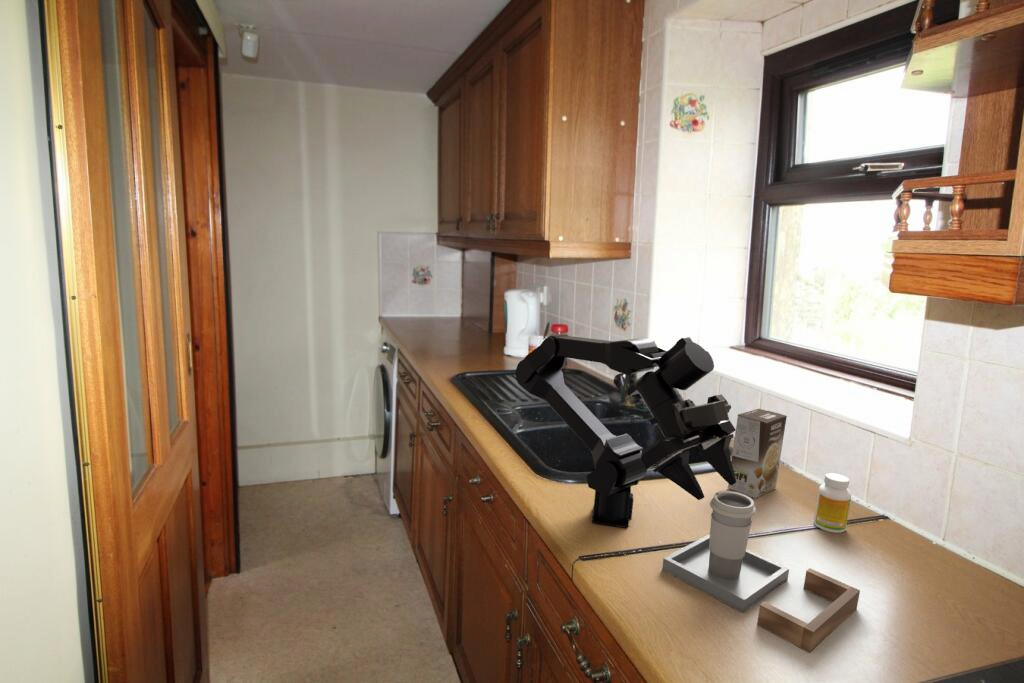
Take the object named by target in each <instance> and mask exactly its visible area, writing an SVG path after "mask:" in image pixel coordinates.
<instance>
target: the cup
mask: <svg viewBox="0 0 1024 683" xmlns="http://www.w3.org/2000/svg"><path fill="white" fill-rule="evenodd" d="M709 506H710V508H711V509H712V512H711V515H710V527H709V528H710V529H709V531H710V532H709V534H710V542H709V549H710V556H709V570H710V571H711V573H713V574H714V575H716V576H718V577H720V578H724V579H736V578H738V577H739V576H740V571H741V566H742V561H743V557H744V556H745V552H746V549H747V547H748V542H749V541H748V540H749V537H750V531H751V527H752V523H753V522H752V517H755V515H756V514H757V508H756V506H755V502H754V500H753V499H752V497H750V496H747V495H745V494H742V493H739V492H737V491H733V490H722V491H717V492H715V493H714V495H713V497H712V499H710V501H709Z"/></svg>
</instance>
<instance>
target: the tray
mask: <svg viewBox="0 0 1024 683" xmlns="http://www.w3.org/2000/svg"><path fill="white" fill-rule="evenodd" d="M709 542H710V533H709V534H707V535H705V536H702V537H701V538H699V539H698V540H695V541H693V542H691V543H690V544H688V545H686V546H684V547H682V548H680V549H677V551H674V552H672V553H670V554H668V555H666V556H665V557H663V560H662V571H664V572H665V573H668V574H669V575H671V576H673V577H674V578H676V579H678V580H680V581H683V582H685V583H686V584H688V585H690V586H692V587H694V588H695V589H697V590H699V591H701V592H703V593H705V594H707V595H708V596H711V597H712V598H714V599H716V600H718V601H720V602H722V603H724V604H726V605H728V606H729V607H731V608H732V609H735V610H737V611H738V612H741V613H744V612H746V611H748V610H749V609H750V608H752V607H753V606H754V605H755V604H757V603H758V602H760V601H761V600H763V599H764V598H765V597H767V596H768V595H769V594H770V593H772V592H774V591H775V590H776V589H778V588H779V587H780V586H782V585H783V584H785V583H786V582H787V581H788V579H789V573H790V572H789V571H790V568H789V567H787V566H785V565H783V564H780V563H778V562H776V561H774V560H771V559H769V558H767V557H765V556H763V555H760V554H758V553H756V552H754V551H752V550H749V549H747V548H746V552H745V556H744V557H743V561H742V566H741V571H740V576H739V577H738V578H736V579H724V578H720V577H718V576H716V575H714V574H713V573H711V571H710V570H709V556H710V549H709Z"/></svg>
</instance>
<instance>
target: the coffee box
mask: <svg viewBox="0 0 1024 683" xmlns="http://www.w3.org/2000/svg"><path fill="white" fill-rule="evenodd" d="M786 423H787V415H785V414H782V413H779V412H774V411H770V410H766V409H762V408H757V409H752V410H750V411H746V412H743V413H738V414H737V419H736V426H735V429H736V430H735V431H734V439H733V440H734V441H733V448H732V455H731V462H732V466H733V470H734V474H735V478H736V483H735V484H733V485H730V484H729V483H728V482H727V484H728V485H727V488H728V489H729V490H730V491H733V492H737V493H741V494H744V495H746V496H748V497H750V498H752V497H753V499H757V498H758V497H760V496H763V495H764V494H767V493H769V492H771V491H773V490H775V489H776V488H777V482H778V481H777V480H778V478H779V477H778V476H779V470H780V469H779V468H780V462H781V456H782V448H783V443H784V437H785V436H784V435H785V431H786V430H785V429H786Z"/></svg>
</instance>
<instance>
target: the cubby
mask: <svg viewBox="0 0 1024 683" xmlns="http://www.w3.org/2000/svg"><path fill="white" fill-rule="evenodd" d="M803 590H806V591H808V592H810V593H812V594H813V595H816V596H818V597H820V598H823V599H825V600H826V601H829V602H831V603H830V604H829V605H828V606H826V608H824V609H823V610H822V611H821V612H820V613H819V614H818V615H816V616H815V617H814V618H813V619H811V621H809V622H805V621H804V620H801V619H799V618H798V617H795V615H794V616H793V615H792V614H790V613H787V612H786V611H783V610H782V609H780V608H777V607H776V606H774V605H772V604H770V603H768V602H766V601H762V602H761V603H760V604H759V608H758V614H757V622H756V624H757V626H760V627H761V628H763V629H765V630H766V631H769V632H770V633H772V634H774V635H776V636H777V637H780V638H781V639H784V640H785V641H787V642H788V643H791V644H792V645H794V646H797V647H798V648H800V649H802V650H803V651H805V652H807V653H809V654H810V653H811V652H812V651H814V649H816V647H818V646H819V645H820V644H821V643H822V642H823V641H824V640H825V639H826V638H827V637H828V636H830V635H831V634H832V633H833V632H834V631H835V630H836V629H837V628H838V627H839V626H841V624H842V623H844V622H845V621H846V620H847V619H848V618H849V617H850V616H851V615H853V613H854V612H856V611H857V609H858V605H859V604H858V603H859V599H860V592H861V590H860V589H858V588H856V587H853V586H851V585H849V584H847V583H845V582H842V581H840V580H838V579H835V578H833V577H831V576H828V575H827V574H824V573H821V572H820V571H817V570H815V569H813V568H808V569H807V570H805V576H804V583H803Z"/></svg>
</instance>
